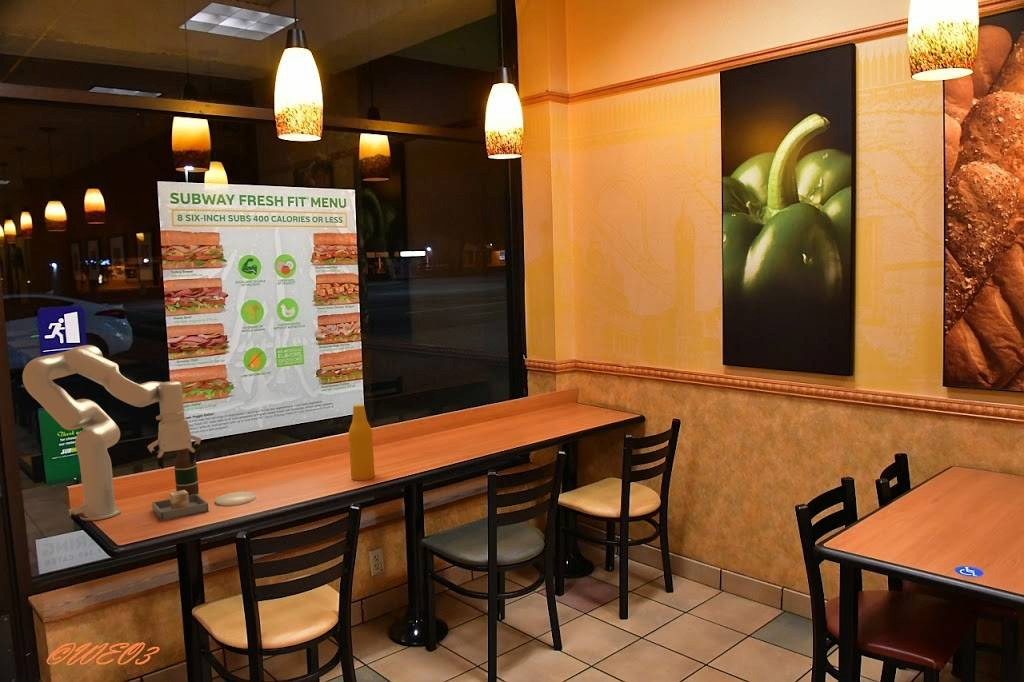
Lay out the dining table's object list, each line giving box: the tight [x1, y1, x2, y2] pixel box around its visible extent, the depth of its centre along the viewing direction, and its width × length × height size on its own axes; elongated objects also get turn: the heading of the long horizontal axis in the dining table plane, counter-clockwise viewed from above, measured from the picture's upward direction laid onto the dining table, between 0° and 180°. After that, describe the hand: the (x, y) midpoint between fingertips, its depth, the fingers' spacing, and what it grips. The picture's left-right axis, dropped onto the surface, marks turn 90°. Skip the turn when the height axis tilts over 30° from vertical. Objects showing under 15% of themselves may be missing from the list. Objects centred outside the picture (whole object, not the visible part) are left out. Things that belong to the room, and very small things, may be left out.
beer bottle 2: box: [348, 404, 376, 482], centre depth 304 cm, size 9×9×29 cm
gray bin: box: [151, 493, 209, 522], centre depth 270 cm, size 15×15×3 cm
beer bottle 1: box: [173, 448, 200, 495], centre depth 290 cm, size 8×8×24 cm
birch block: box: [169, 490, 189, 510], centre depth 270 cm, size 5×5×6 cm
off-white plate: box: [214, 491, 257, 507], centre depth 281 cm, size 14×14×1 cm
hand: (176, 465), depth 269 cm, fingers open, 9 cm apart
